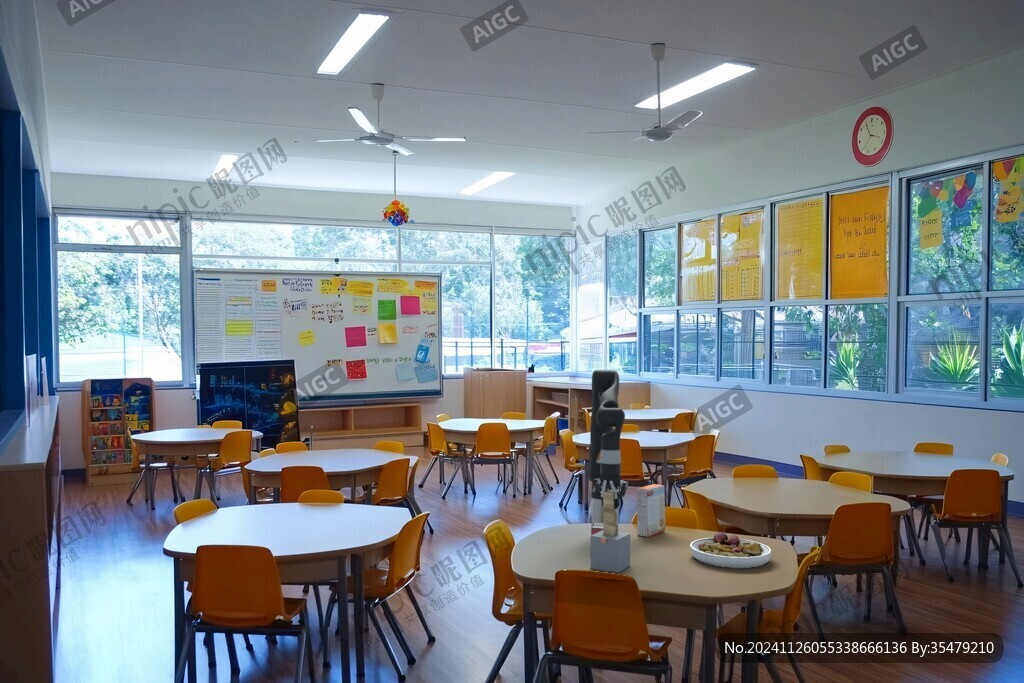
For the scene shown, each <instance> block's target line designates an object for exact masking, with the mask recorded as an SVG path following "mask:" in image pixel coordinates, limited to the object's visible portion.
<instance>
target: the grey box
mask: <svg viewBox="0 0 1024 683" xmlns="http://www.w3.org/2000/svg"><path fill="white" fill-rule="evenodd" d="M628 566H629V567H631V533H630V532H620V531H618V535H617V536H615V537H611V536H604V535H603V530H602V531H600V532H598V533H595V534H593V535H591V534H590V569H591V570H592V569H593V570H598V571H603V570H605V571H604V572H609V571H613V572H612V573H614V572H617V573H616V574H619V573H620V571H621V572H622V571H624V570H626V569H628V568H629V567H628ZM627 567H628V568H627ZM625 568H626V569H625Z"/></svg>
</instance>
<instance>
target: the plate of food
mask: <svg viewBox="0 0 1024 683" xmlns="http://www.w3.org/2000/svg"><path fill="white" fill-rule="evenodd" d="M689 548H690V552H691V555H692V556H693V557H694V558H695V559H696V560H698V561H699V562H701V563H703V562H704V563H703V564H706V563H707V564H706V565H709V564H711V565H710V566H713V565H715V566H714V567H718V566H721V567H720V568H724V567H731V568H730V569H751V567H754V568H757V567H761V566H764V565H765V564H766V563H768V561H770V560H771V557H772V549H771V548H770V547H769V546H768V545H766V544H764V543H761V542H757V541H753V540H749V539H742V538H740V537H739V536H738V535H735V534H732V535H731V536H729V537H728V535H727V533H726V532H723V531H719V532H717V533H715V534H714V535H713V537H707V538H700V539H696V540H694V541H691V543H690V544H689Z"/></svg>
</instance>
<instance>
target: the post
mask: <svg viewBox="0 0 1024 683" xmlns="http://www.w3.org/2000/svg"><path fill="white" fill-rule="evenodd" d="M614 499H615V498H614V493H613V492H612V490H607V491H605V492H603V535H604V536H611V537H615V536H617V535H618V532H619V524H618V523H619V507H618V508H617V509H614Z"/></svg>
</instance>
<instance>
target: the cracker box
mask: <svg viewBox="0 0 1024 683" xmlns="http://www.w3.org/2000/svg"><path fill="white" fill-rule="evenodd" d="M665 495H666V494H665V485H663V484H659V483H658V484H657V483H652V484H649V485H645V486H641V487H637V488H636V509H637V510H636V511H637V512H636V513H637V514H636V518H637V522H636V523H637V525H636V526H637V536H638V535H639V536H638V537H643V536H645V537H644V538H651V537H653V535H654V536H657V535H660V534H662V533H661V532H663V533H665V532H666V514H665V513H666V510H665V509H666V504H665V500H666V499H665V498H666V496H665ZM664 531H665V532H664ZM659 533H660V534H659ZM656 534H657V535H656ZM650 536H651V537H650Z"/></svg>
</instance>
